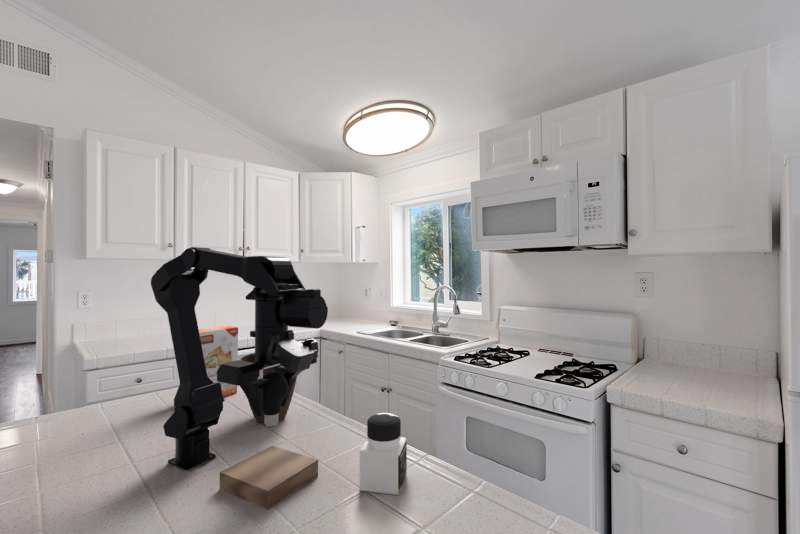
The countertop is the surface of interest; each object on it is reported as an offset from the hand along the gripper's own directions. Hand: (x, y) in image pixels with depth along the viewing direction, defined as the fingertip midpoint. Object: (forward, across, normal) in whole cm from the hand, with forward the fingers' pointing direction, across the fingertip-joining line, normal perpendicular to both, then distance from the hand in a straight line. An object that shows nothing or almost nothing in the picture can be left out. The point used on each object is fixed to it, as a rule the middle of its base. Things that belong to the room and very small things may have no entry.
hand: (271, 410), depth 72 cm
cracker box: (+13, +25, +52) cm, 59 cm away
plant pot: (+13, +22, +24) cm, 35 cm away
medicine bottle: (+13, +10, -18) cm, 24 cm away
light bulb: (+3, 0, 0) cm, 3 cm away
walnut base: (+13, 0, 0) cm, 13 cm away
